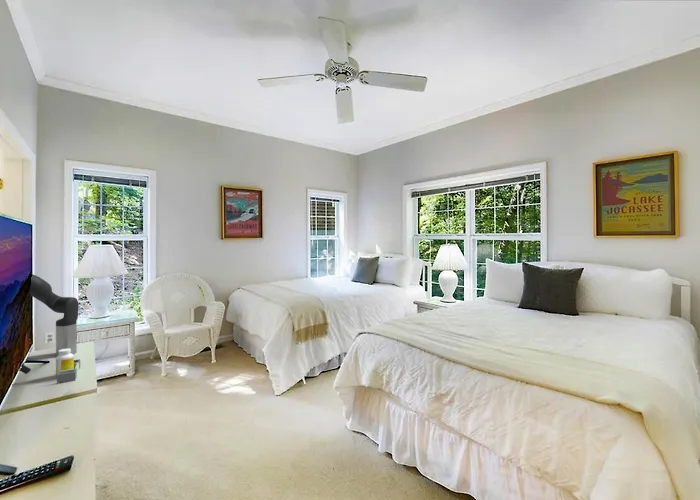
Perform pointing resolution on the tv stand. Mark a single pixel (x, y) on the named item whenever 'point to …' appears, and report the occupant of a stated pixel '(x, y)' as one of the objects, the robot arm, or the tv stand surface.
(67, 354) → the supplement bottle
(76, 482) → the tv stand surface
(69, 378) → the bay rack
